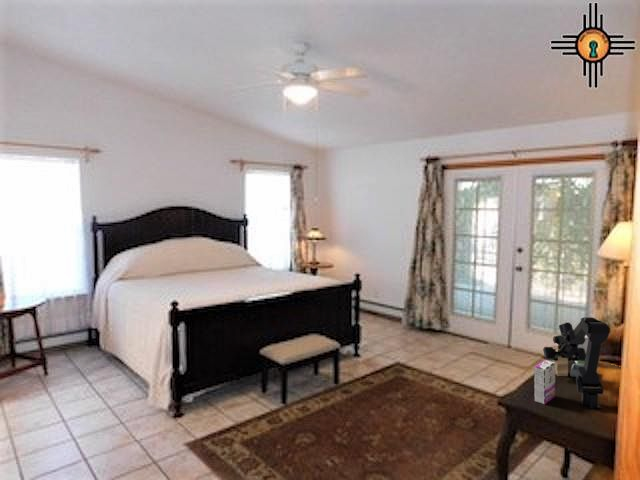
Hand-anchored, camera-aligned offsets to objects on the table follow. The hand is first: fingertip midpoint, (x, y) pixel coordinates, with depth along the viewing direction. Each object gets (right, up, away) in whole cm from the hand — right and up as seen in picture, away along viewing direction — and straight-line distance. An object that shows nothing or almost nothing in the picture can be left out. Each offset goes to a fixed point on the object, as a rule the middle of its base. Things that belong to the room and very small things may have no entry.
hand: (559, 360), depth 221 cm
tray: (+10, -7, -3) cm, 13 cm away
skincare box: (+20, -5, +12) cm, 23 cm away
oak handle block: (0, -7, -1) cm, 7 cm away
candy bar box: (-22, -10, -26) cm, 36 cm away
